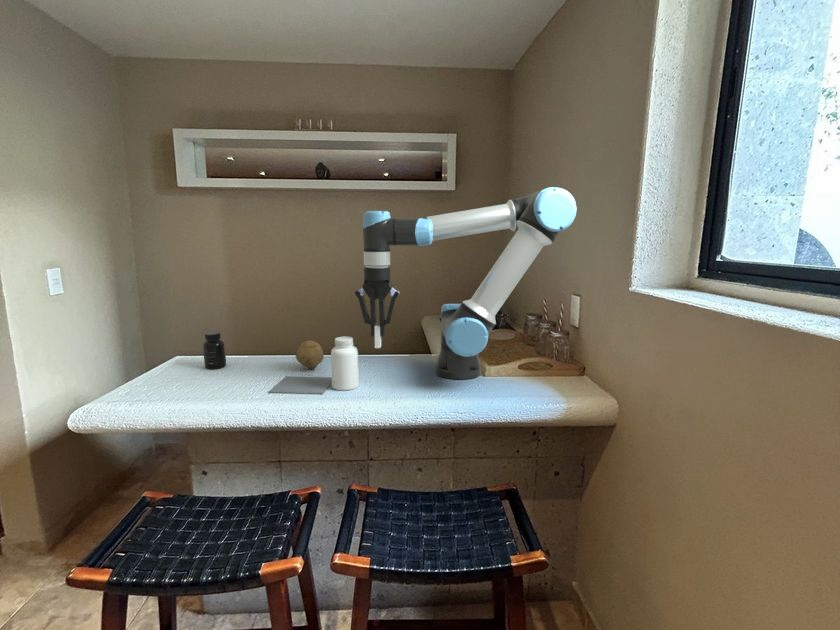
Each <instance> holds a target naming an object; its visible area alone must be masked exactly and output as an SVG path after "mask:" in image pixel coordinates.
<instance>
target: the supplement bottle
mask: <svg viewBox="0 0 840 630" xmlns="http://www.w3.org/2000/svg"><path fill="white" fill-rule="evenodd" d="M221 337H222V335H221V331H209V332H206V333H204V340H205V341H204V342H203V343H202V351H203V360H204V367H205V369H206V370H212V371H215V370H220V369H223V368H225V367H226V366H227V357H226V356H227V355H226V347H225V346H226V345H225V341H224V340H223V339H221Z"/></svg>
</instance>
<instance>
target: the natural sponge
mask: <svg viewBox="0 0 840 630" xmlns="http://www.w3.org/2000/svg"><path fill="white" fill-rule="evenodd" d="M324 356H325V355H324V351H323V348H322V346H321V345H320V344H319V343H318V342H316V341H314V340H311V339H310V340H305V341H303V342H302V343H300V345H299V346H298V348H297V350H296V353H295V359H296V361H297V362H298V363H300V364H301V366H303V367H305V369H308V370H315V369H316V368H317V367H318V366H319V365H320V364H321V363H322V362H323V360H324Z"/></svg>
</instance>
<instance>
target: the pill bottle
mask: <svg viewBox="0 0 840 630" xmlns="http://www.w3.org/2000/svg"><path fill="white" fill-rule="evenodd" d="M330 358H331V359H330V363H331V365H330V368H331V377H332V383H331V385H332V386H331V387H332V389H334V390H337V391H351V390H354V389H356V388H358V386H359V383H360V381H359V378H360V377H359V351H358V348H357V347H356V346H355V345H354V338H353V337H352V336H348V335H347V336H346V335H345V336H338V337H335V339H334V347H333V348H332V349H331V351H330Z"/></svg>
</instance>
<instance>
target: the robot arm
mask: <svg viewBox="0 0 840 630" xmlns="http://www.w3.org/2000/svg"><path fill="white" fill-rule="evenodd" d="M577 209H578V208H577V203H576V200H575V197H574V196H573V195H572V194H571V193H570V192H569V191H568V190H567V189H564V188H561V187H555V186H551V187H547V188H544V189H542V190H537V191H534V192H532V193H530V194H527V195H525V196H522V197H518V198H513V199H508V201H507V202H506V203H503V204H497V205H492V206H490V205H489V206H484V207H478V208H472V209H466V210H461V211H454V212H449V213H448V212H447V213H442V214H437V215H431V216H430V215H429V216H424V217H418V218H393V217H391V213H390V212H389V211H387V210H368V211H365V212H364V213H363V216H362V217H363V218H362V219H363V221H362V223H363V225H362V236H363V238H362V240H363V244H362V245H363V265H364V266H365V267H364V268H363V284H362V287H360V289H358V290H355V291H354V295H355V296H356V297H357V299H358V303H359V306H360V310H361V313H362V317H363V322H364V324H367V325H370V336H371V337H374V349H380V348H381V347H382V337H384V336H385V333H386V332H385V331H386V329H385V328H386V325H389V324H390V323H391V322H392V317H393V314H394V309H395V305H396V301H397V298H398V297H399V295H400V293H401V292H400V290H396V289H395V288H394V287H393V284H392V282H391V268H390V267H389V266H391V246H396V247H397V246H404V247H405V246H407V247H408V246H411V247H413V246H416V247H417V246H419V247H423V246H430V245H432V243H433V242H434V241H438V240H439V241H440V240H446V239H451V238H457V237H464V236H465V237H466V236H471V235H476V234H482V233H484V234H485V233H490V232H495V231H496V232H497V231H501V230H508V229H509V230H511V231H512V232H515V234H514V235H513V236H512V237H511V239H510V241H509V242H508V243H507V244H506V246H505V249H503V251H502V253H501V254H500V255H499V257H498V258H497V260H496V261H495V263H494V264H493V266H492V268H491V269H490V270H489V271H488V273H487V274H486V276H485V277H484V279H483V281H481V283H480V284H479V286H478V287H477V289H476V290H475V292H474V293H473V295H472V296H471V298H470V299H466V300H463V301H462V302H461V303H444V304H442V306H441V308H440V309H441V311H440V316H441V317H440V351H439V354H438V357H437V360H436V363H435V370H434V371H435V372H434V373H435V374H436V375H437V376H438V377H442V378H445V379H451V380H470V379H475V378H478V377H480V376H481V375H482V365H481V364H482V363H481V361H480V357H479V354H480V353H481V352H482V351H484V349H485V348H486V346H487V344H488V341H489V334H490V333H491V331H492V330H494V327H495V326H496V324H497V322H496V315H497V313H498V312H499V311H500V310H501V308H502V306H504V304H505V302H506V300H507V299H508V298H509V296H511V293H512V292H513V291H514V290H515V287H517V285H518V283H519V282H520V281H521V279H522V278H523V276H524V275H525V274H526V272H527V271H528V269H529V268H530V266H531V265H532V264H533V262H534V261H535V259H536V257H537V256H538V255H539V254H540V252H541V250H542V249H543V247H546V246H550V245H552V244H553V242H554V241H555V240H556V238H557V237H558V236H559V234H560V233H561V232H562V231H564V230H566V229H568V227H570V226H571V225H572V224H573V222H574V220H575V218H576V216H577ZM389 293H390V296H391V299H390V302H389V306H388V310H387V315H386V313H385V312H386V311H385V310H386V309H385V308H386V307H385V306H386V305H385V302H386V297H387V296H388V295H389ZM365 294H366V296H367V297H368V298H369V303H370V304H369V305H370V308H369V309H370V314H369V311H368V306H367V302H366V299H365ZM377 300H378V302H379V303H378V308H379V309H378V310H379V314H378V315H379V319H378V320H379V324H377ZM385 316H386V317H385Z"/></svg>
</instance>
